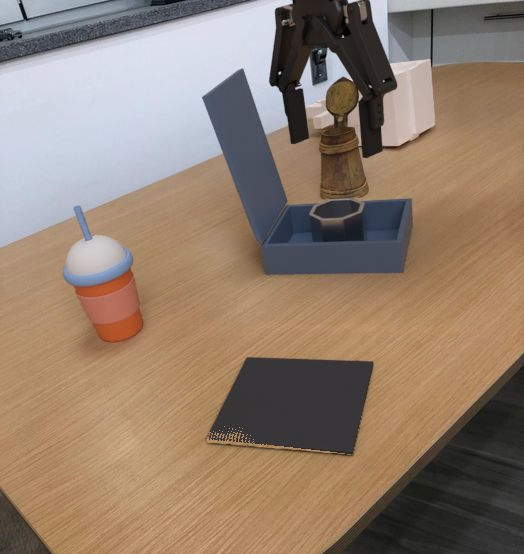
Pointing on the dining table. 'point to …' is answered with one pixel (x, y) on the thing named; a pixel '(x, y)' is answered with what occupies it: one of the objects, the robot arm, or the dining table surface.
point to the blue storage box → (340, 255)
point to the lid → (246, 152)
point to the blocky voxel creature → (394, 105)
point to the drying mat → (296, 403)
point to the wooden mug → (341, 146)
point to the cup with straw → (104, 283)
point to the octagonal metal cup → (338, 221)
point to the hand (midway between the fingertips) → (334, 147)
